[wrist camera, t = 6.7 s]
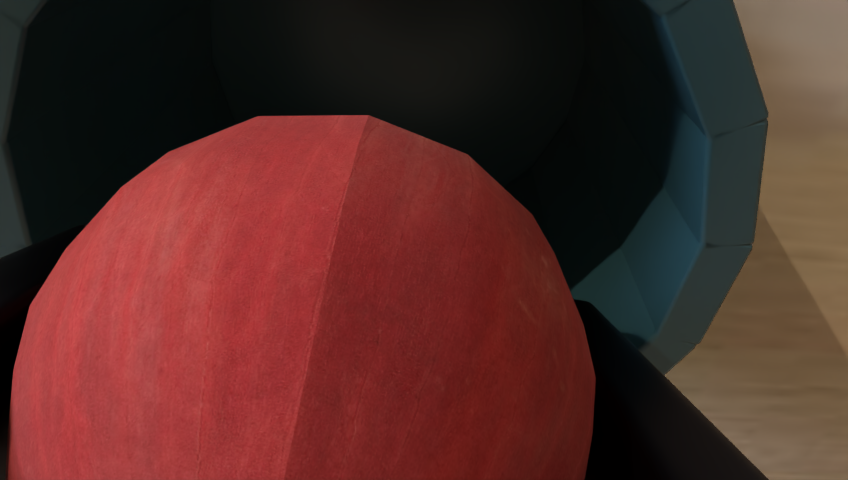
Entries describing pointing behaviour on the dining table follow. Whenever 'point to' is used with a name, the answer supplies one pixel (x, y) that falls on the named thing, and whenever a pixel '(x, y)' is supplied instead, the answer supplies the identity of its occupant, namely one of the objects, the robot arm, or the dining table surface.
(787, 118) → the dining table surface
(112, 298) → the onion
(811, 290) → the dining table surface
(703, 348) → the dining table surface
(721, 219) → the tin
